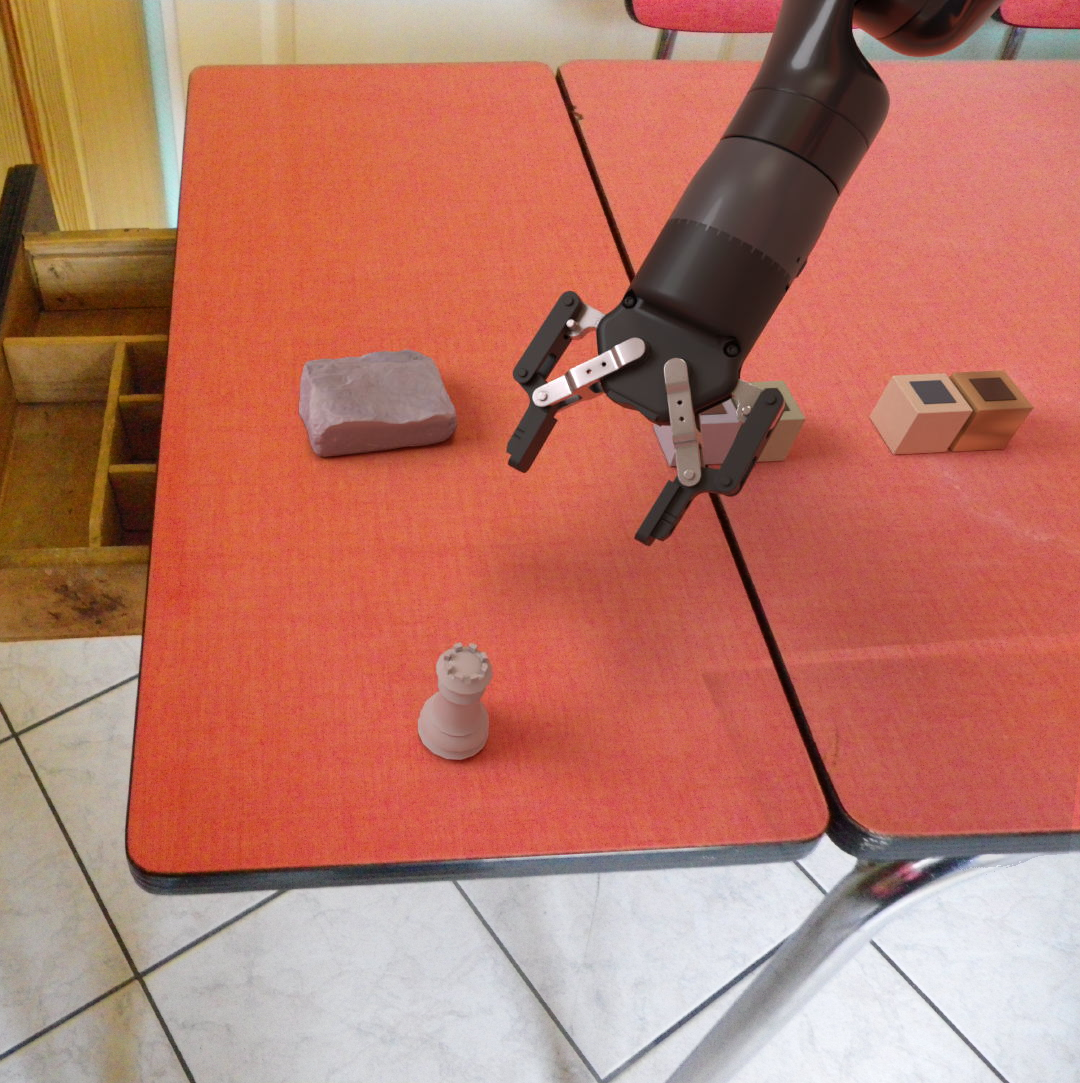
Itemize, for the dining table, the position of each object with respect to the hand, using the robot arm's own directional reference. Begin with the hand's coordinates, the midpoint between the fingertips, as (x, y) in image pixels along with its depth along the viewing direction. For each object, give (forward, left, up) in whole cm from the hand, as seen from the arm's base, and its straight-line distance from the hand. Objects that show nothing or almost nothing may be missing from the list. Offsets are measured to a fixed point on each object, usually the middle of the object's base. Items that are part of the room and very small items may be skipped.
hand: (577, 505), depth 57 cm
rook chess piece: (+2, +10, -13) cm, 16 cm away
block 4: (-22, -37, -13) cm, 45 cm away
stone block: (+21, -13, -13) cm, 28 cm away
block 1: (-3, -24, -13) cm, 27 cm away
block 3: (-18, -34, -13) cm, 41 cm away
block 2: (-7, -26, -13) cm, 30 cm away
